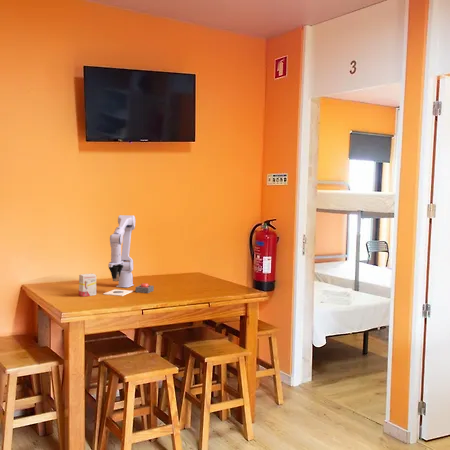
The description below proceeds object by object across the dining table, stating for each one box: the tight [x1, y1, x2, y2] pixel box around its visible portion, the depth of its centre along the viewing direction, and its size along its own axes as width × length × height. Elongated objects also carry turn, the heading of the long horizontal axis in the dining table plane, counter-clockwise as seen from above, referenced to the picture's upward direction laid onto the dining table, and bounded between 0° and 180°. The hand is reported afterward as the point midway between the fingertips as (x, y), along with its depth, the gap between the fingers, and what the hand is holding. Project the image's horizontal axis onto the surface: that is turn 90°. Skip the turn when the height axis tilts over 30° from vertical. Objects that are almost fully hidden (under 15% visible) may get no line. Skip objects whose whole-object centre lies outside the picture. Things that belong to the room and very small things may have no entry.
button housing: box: [135, 284, 154, 294], centre depth 320 cm, size 8×8×3 cm
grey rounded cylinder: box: [112, 272, 119, 282], centre depth 315 cm, size 4×4×5 cm
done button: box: [140, 282, 149, 287], centre depth 320 cm, size 4×4×2 cm
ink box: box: [78, 273, 97, 298], centre depth 306 cm, size 9×5×12 cm, turn 131°
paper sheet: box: [102, 288, 134, 297], centre depth 314 cm, size 14×12×1 cm
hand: (115, 278), depth 315 cm, fingers closed on grey rounded cylinder, 4 cm apart
